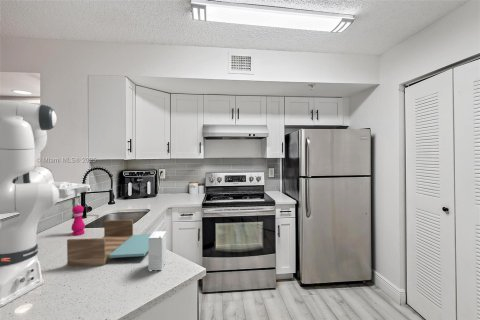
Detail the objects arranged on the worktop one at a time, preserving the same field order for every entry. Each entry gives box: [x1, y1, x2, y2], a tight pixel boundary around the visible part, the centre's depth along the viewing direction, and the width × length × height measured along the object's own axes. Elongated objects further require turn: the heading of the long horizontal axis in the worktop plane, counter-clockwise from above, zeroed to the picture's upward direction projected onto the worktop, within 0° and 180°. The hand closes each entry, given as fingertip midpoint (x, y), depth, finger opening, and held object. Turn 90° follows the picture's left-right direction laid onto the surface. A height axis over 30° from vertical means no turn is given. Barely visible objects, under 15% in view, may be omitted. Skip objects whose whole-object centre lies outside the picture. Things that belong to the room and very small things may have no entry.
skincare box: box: [147, 230, 167, 270], centre depth 100 cm, size 8×6×15 cm
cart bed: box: [66, 219, 134, 267], centre depth 117 cm, size 32×16×12 cm, turn 4°
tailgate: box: [109, 233, 152, 259], centre depth 118 cm, size 28×2×16 cm
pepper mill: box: [71, 202, 86, 237], centre depth 145 cm, size 7×7×20 cm
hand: (88, 189), depth 121 cm, fingers closed
